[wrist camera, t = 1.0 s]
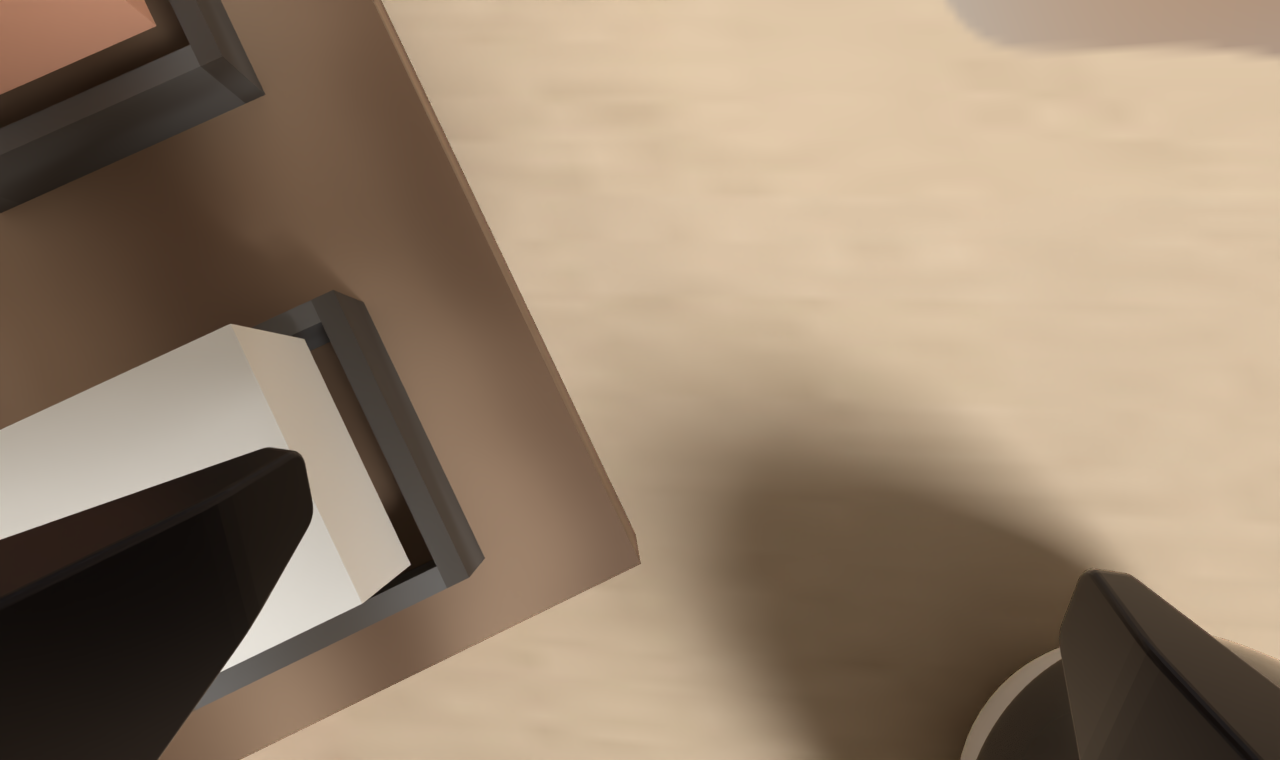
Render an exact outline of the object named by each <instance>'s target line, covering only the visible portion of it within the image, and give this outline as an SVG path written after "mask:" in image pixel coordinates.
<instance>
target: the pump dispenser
mask: <svg viewBox="0 0 1280 760" xmlns="http://www.w3.org/2000/svg"><path fill="white" fill-rule="evenodd" d="M1211 636H1212V635H1211ZM1213 637H1214V638H1215V639H1217V640H1218V641H1219V642H1220V643H1222V644H1223V645H1224V646H1226V647H1227V648H1228V649H1230V650H1231V651H1232V652H1234V653H1235V654H1236V655H1238V656H1239V657H1240V658H1242V659H1243V660H1244V661H1246V662H1247V663H1248V664H1249V665H1251V666H1252V667H1253V668H1255V669H1256V670H1257V671H1259V672H1260V673H1261V674H1263V675H1264V676H1265V677H1267V678H1268V679H1269V680H1271V681H1272V682H1273V683H1275V684H1276V685H1277V686H1278V687H1280V660H1279V659H1276V658H1274V657H1272V656H1269V655H1267V654H1265V653H1262V652H1260V651H1257V650H1255V649H1252V648H1249V647H1247V646H1244V645H1241V644H1238V643H1235V642H1232V641H1229V640H1226V639H1223V638H1219V637H1216V636H1213ZM960 760H1080V759H1079V753H1078V748H1077V742H1076V736H1075V731H1074V725H1073V720H1072V714H1071V709H1070V703H1069V697H1068V692H1067V686H1066V681H1065V675H1064V669H1063V664H1062V658H1061V653H1060V648H1057V649H1054V650H1052V651H1050V652H1048V653H1046V654H1044V655H1042V656H1040V657H1038V658H1036V659H1034V660H1032V661H1031V662H1029V663H1028V664H1026V665H1024V666H1023V667H1022V668H1020V669H1019V670H1018V671H1016V672H1015V673H1014V674H1013V675H1011V676H1010V677H1009V678H1008V679H1007V680H1006V681H1005V682H1004V683H1003V684H1002V685H1001V686H1000V687H999V688H998V689H997V690H996V691H995V692H994V694H993V695H992V696H991V697H990V698H989V700H988V701H987V703H986V704H985V705H984V707H983V708H982V710H981V711H980V713H979V715H978V716H977V718H976V720H975V722H974V723H973V725H972V728H971V730H970V732H969V734H968V737H967V739H966V742H965V745H964V748H963V751H962V754H961V758H960Z"/></svg>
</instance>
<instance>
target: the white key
mask: <svg viewBox="0 0 1280 760" xmlns="http://www.w3.org/2000/svg"><path fill="white" fill-rule="evenodd" d="M265 447H274V448H280V449H287V450H294V451H297V452H298V453H300V454H301V455H302V457H303V458H304V461H305V464H306V470H307V475H308V480H309V485H310V491H311V496H312V501H313V516H312V520H311V523H310V525H309V527H308V529H307V531H306V533H305V535H304V536H303V538H302V540H301V542H300V543H299V545H298V547H297V549H296V550H295V552H294V554H293V556H292V557H291V559H290V561H289V563H288V564H287V566H286V568H285V570H284V571H283V573H282V575H281V577H280V579H279V580H278V582H277V584H276V586H275V587H274V589H273V591H272V593H271V594H270V596H269V598H268V600H267V601H266V603H265V605H264V607H263V608H262V610H261V612H260V614H259V615H258V617H257V618H256V620H255V622H254V623H253V625H252V627H251V628H250V630H249V631H248V633H247V634H246V636H245V637H244V639H243V640H242V642H241V643H240V645H239V646H238V648H237V649H236V651H235V652H234V653H233V655H232V656H231V658H230V659H229V660H228V662H227V663H226V665H225V666H224V668H223V669H222V670H221V672H222V671H224V670H226V669H228V668H230V667H232V666H234V665H236V664H238V663H240V662H243V661H245V660H247V659H249V658H251V657H253V656H255V655H257V654H259V653H261V652H263V651H265V650H267V649H269V648H272V647H274V646H276V645H278V644H280V643H282V642H284V641H286V640H288V639H290V638H292V637H294V636H296V635H298V634H301V633H303V632H305V631H307V630H309V629H311V628H313V627H315V626H317V625H319V624H321V623H323V622H325V621H327V620H330V619H332V618H334V617H336V616H338V615H340V614H342V613H344V612H346V611H348V610H350V609H352V608H354V607H356V606H359V605H361V604H363V603H364V602H365V601H366V600H368V599H369V598H370V597H371V596H372V595H374V594H375V593H376V592H377V591H379V590H380V589H381V588H382V587H384V586H385V585H386V584H387V583H389V582H390V581H391V580H392V579H394V578H395V577H396V576H397V575H399V574H400V573H401V572H402V571H404V570H405V569H406V568H407V567H409V566H410V565H411V564H410V562H409V560H408V558H407V555H406V553H405V551H404V549H403V547H402V545H401V543H400V541H399V539H398V536H397V534H396V532H395V530H394V528H393V526H392V524H391V522H390V519H389V517H388V515H387V513H386V511H385V509H384V507H383V505H382V503H381V500H380V498H379V496H378V494H377V492H376V490H375V488H374V486H373V483H372V481H371V479H370V477H369V475H368V473H367V471H366V469H365V467H364V464H363V462H362V460H361V458H360V456H359V454H358V452H357V450H356V447H355V445H354V443H353V441H352V439H351V437H350V435H349V433H348V431H347V428H346V426H345V424H344V422H343V420H342V418H341V416H340V414H339V411H338V409H337V407H336V405H335V403H334V401H333V399H332V397H331V395H330V392H329V390H328V388H327V386H326V384H325V382H324V380H323V378H322V375H321V373H320V371H319V369H318V367H317V365H316V363H315V361H314V359H313V356H312V354H311V352H310V350H309V348H308V346H307V344H306V342H305V339H301V338H297V337H292V336H287V335H282V334H277V333H273V332H268V331H263V330H258V329H253V328H249V327H244V326H239V325H234V324H229V325H227V326H224V327H222V328H220V329H218V330H216V331H214V332H211V333H209V334H207V335H205V336H203V337H201V338H198V339H196V340H194V341H192V342H190V343H188V344H185V345H183V346H181V347H179V348H177V349H174V350H172V351H170V352H168V353H166V354H164V355H161V356H159V357H157V358H155V359H153V360H151V361H148V362H146V363H144V364H142V365H140V366H138V367H135V368H133V369H131V370H129V371H127V372H125V373H122V374H120V375H118V376H116V377H114V378H112V379H109V380H107V381H105V382H103V383H101V384H99V385H96V386H94V387H92V388H90V389H88V390H86V391H83V392H81V393H79V394H77V395H75V396H73V397H70V398H68V399H66V400H64V401H62V402H60V403H57V404H55V405H53V406H51V407H49V408H47V409H44V410H42V411H40V412H38V413H36V414H33V415H31V416H29V417H27V418H25V419H23V420H20V421H18V422H16V423H14V424H12V425H10V426H7V427H5V428H3V429H1V430H0V540H1V539H3V538H6V537H9V536H12V535H15V534H18V533H21V532H24V531H26V530H29V529H32V528H35V527H38V526H41V525H44V524H47V523H49V522H52V521H55V520H58V519H61V518H64V517H67V516H69V515H72V514H75V513H78V512H81V511H84V510H87V509H90V508H92V507H95V506H98V505H101V504H104V503H107V502H110V501H113V500H115V499H118V498H121V497H124V496H127V495H130V494H133V493H135V492H138V491H141V490H144V489H147V488H150V487H153V486H156V485H158V484H161V483H164V482H167V481H170V480H173V479H176V478H178V477H181V476H184V475H187V474H190V473H193V472H196V471H199V470H201V469H204V468H207V467H210V466H213V465H216V464H219V463H222V462H224V461H227V460H230V459H233V458H236V457H239V456H242V455H244V454H247V453H250V452H253V451H256V450H259V449H262V448H265Z"/></svg>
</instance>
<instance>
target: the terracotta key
mask: <svg viewBox="0 0 1280 760" xmlns="http://www.w3.org/2000/svg"><path fill="white" fill-rule="evenodd" d="M155 26H156V24H155V22H154V20H153V18H152V16H151V13H150V11H149V9H148V7H147V5H146V3H145V1H144V0H0V95H1V94H3V93H5V92H8V91H10V90H12V89H15V88H17V87H19V86H21V85H24V84H26V83H28V82H30V81H33V80H35V79H37V78H40V77H42V76H44V75H46V74H49V73H51V72H53V71H55V70H58V69H60V68H62V67H65V66H67V65H69V64H71V63H74V62H76V61H78V60H80V59H83V58H85V57H87V56H90V55H92V54H94V53H96V52H99V51H101V50H103V49H105V48H108V47H110V46H112V45H115V44H117V43H119V42H121V41H124V40H126V39H128V38H130V37H133V36H135V35H137V34H140V33H142V32H144V31H146V30H149V29H151V28H153V27H155Z"/></svg>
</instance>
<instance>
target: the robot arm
mask: <svg viewBox="0 0 1280 760" xmlns="http://www.w3.org/2000/svg"><path fill="white" fill-rule="evenodd" d="M312 516H313V501H312V496H311V491H310V485H309V480H308V475H307V470H306V464H305V461H304V458H303V457H302V455H301V454H300V453H298V452H297V451H294V450H287V449H280V448H274V447H265V448H262V449H259V450H256V451H253V452H250V453H247V454H244V455H242V456H239V457H236V458H233V459H230V460H227V461H224V462H222V463H219V464H216V465H213V466H210V467H207V468H204V469H201V470H199V471H196V472H193V473H190V474H187V475H184V476H181V477H178V478H176V479H173V480H170V481H167V482H164V483H161V484H158V485H156V486H153V487H150V488H147V489H144V490H141V491H138V492H135V493H133V494H130V495H127V496H124V497H121V498H118V499H115V500H113V501H110V502H107V503H104V504H101V505H98V506H95V507H92V508H90V509H87V510H84V511H81V512H78V513H75V514H72V515H69V516H67V517H64V518H61V519H58V520H55V521H52V522H49V523H47V524H44V525H41V526H38V527H35V528H32V529H29V530H26V531H24V532H21V533H18V534H15V535H12V536H9V537H6V538H3V539H1V540H0V760H158V759H159V758H160V756H161V755H162V754H163V752H164V751H165V749H166V748H167V747H168V745H169V744H170V742H171V741H172V739H173V738H174V737H175V735H176V734H177V732H178V731H179V730H180V728H181V727H182V725H183V724H184V723H185V721H186V720H187V718H188V717H189V715H190V714H191V713H192V711H193V710H194V708H195V707H196V706H197V704H198V703H199V701H200V700H201V699H202V697H203V696H204V694H205V693H206V691H207V690H208V689H209V687H210V686H211V684H212V683H213V682H214V680H215V679H216V677H217V676H218V675H219V673H220V672H221V670H222V669H223V668H224V666H225V665H226V663H227V662H228V660H229V659H230V658H231V656H232V655H233V653H234V652H235V651H236V649H237V648H238V646H239V645H240V643H241V642H242V640H243V639H244V637H245V636H246V634H247V633H248V631H249V630H250V628H251V627H252V625H253V623H254V622H255V620H256V618H257V617H258V615H259V614H260V612H261V610H262V608H263V607H264V605H265V603H266V601H267V600H268V598H269V596H270V594H271V593H272V591H273V589H274V587H275V586H276V584H277V582H278V580H279V579H280V577H281V575H282V573H283V571H284V570H285V568H286V566H287V564H288V563H289V561H290V559H291V557H292V556H293V554H294V552H295V550H296V549H297V547H298V545H299V543H300V542H301V540H302V538H303V536H304V535H305V533H306V531H307V529H308V527H309V525H310V523H311V520H312ZM1059 646H1060V653H1061V658H1062V664H1063V669H1064V675H1065V681H1066V686H1067V692H1068V697H1069V703H1070V709H1071V714H1072V720H1073V725H1074V731H1075V736H1076V742H1077V748H1078V753H1079V759H1080V760H1280V687H1278V686H1277V685H1276V684H1275V683H1273V682H1272V681H1271V680H1269V679H1268V678H1267V677H1265V676H1264V675H1263V674H1261V673H1260V672H1259V671H1257V670H1256V669H1255V668H1253V667H1252V666H1251V665H1249V664H1248V663H1247V662H1246V661H1244V660H1243V659H1242V658H1240V657H1239V656H1238V655H1236V654H1235V653H1234V652H1232V651H1231V650H1230V649H1228V648H1227V647H1226V646H1224V645H1223V644H1222V643H1220V642H1219V641H1218V640H1217V639H1215V638H1214V637H1213V636H1211V635H1210V634H1209V633H1207V632H1206V631H1205V630H1203V629H1202V628H1201V627H1199V626H1198V625H1197V624H1195V623H1194V622H1193V621H1191V620H1190V619H1189V618H1188V617H1186V616H1185V615H1184V614H1182V613H1181V612H1180V611H1178V610H1177V609H1176V608H1174V607H1173V606H1172V605H1170V604H1169V603H1168V602H1166V601H1165V600H1164V599H1162V598H1161V597H1160V596H1159V595H1157V594H1156V593H1155V592H1153V591H1152V590H1151V589H1149V588H1148V587H1147V586H1145V585H1144V584H1143V583H1141V582H1140V581H1139V580H1137V579H1136V578H1135V577H1133V576H1132V575H1129V574H1127V573H1121V572H1115V571H1108V570H1101V569H1094V568H1091V569H1088V570H1086V571H1084V572H1083V574H1082V575H1081V576H1080V578H1079V580H1078V583H1077V585H1076V588H1075V590H1074V593H1073V596H1072V598H1071V601H1070V603H1069V606H1068V609H1067V611H1066V614H1065V616H1064V619H1063V622H1062V625H1061V628H1060V636H1059Z"/></svg>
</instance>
